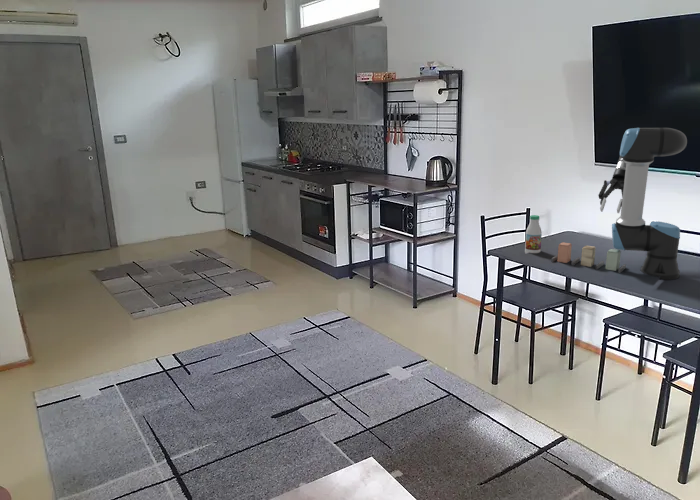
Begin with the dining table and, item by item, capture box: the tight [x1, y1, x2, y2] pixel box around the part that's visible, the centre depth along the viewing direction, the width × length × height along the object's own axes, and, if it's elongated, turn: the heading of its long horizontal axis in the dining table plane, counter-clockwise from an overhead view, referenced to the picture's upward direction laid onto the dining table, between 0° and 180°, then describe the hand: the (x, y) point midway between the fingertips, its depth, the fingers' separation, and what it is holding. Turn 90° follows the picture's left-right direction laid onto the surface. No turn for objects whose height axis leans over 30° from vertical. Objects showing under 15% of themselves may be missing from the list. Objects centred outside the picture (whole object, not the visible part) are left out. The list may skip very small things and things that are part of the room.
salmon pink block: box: [556, 241, 573, 264], centre depth 261 cm, size 5×4×9 cm
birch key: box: [580, 245, 597, 268], centre depth 254 cm, size 5×4×9 cm
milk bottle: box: [524, 214, 542, 255], centre depth 278 cm, size 8×8×20 cm
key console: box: [550, 254, 627, 274], centre depth 255 cm, size 10×31×3 cm, turn 49°
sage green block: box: [605, 248, 622, 272], centre depth 247 cm, size 5×4×9 cm
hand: (609, 210), depth 260 cm, fingers open, 7 cm apart
